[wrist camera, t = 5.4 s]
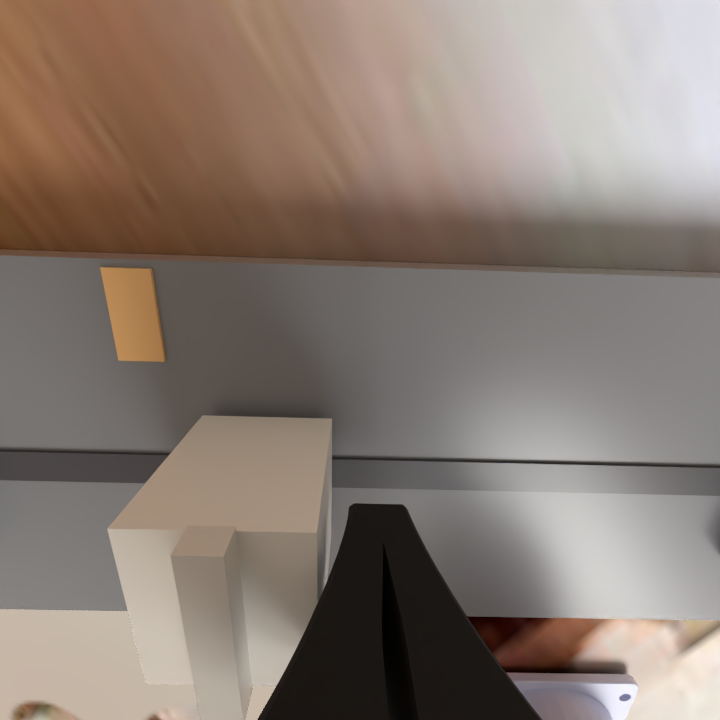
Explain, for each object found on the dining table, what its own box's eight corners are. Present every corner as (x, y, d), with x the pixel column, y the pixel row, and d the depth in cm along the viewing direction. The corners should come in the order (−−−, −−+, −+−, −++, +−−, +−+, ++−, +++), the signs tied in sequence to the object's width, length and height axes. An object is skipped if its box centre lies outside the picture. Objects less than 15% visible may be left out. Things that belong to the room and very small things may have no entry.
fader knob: (331, 536, 11) (315, 727, 7) (217, 534, 11) (129, 724, 7) (332, 414, 10) (312, 558, 6) (202, 411, 10) (79, 554, 6)
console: (696, 572, 15) (781, 657, 12) (7, 559, 15) (-84, 644, 12) (829, 275, 11) (1004, 292, 8) (-111, 245, 11) (-295, 251, 8)
